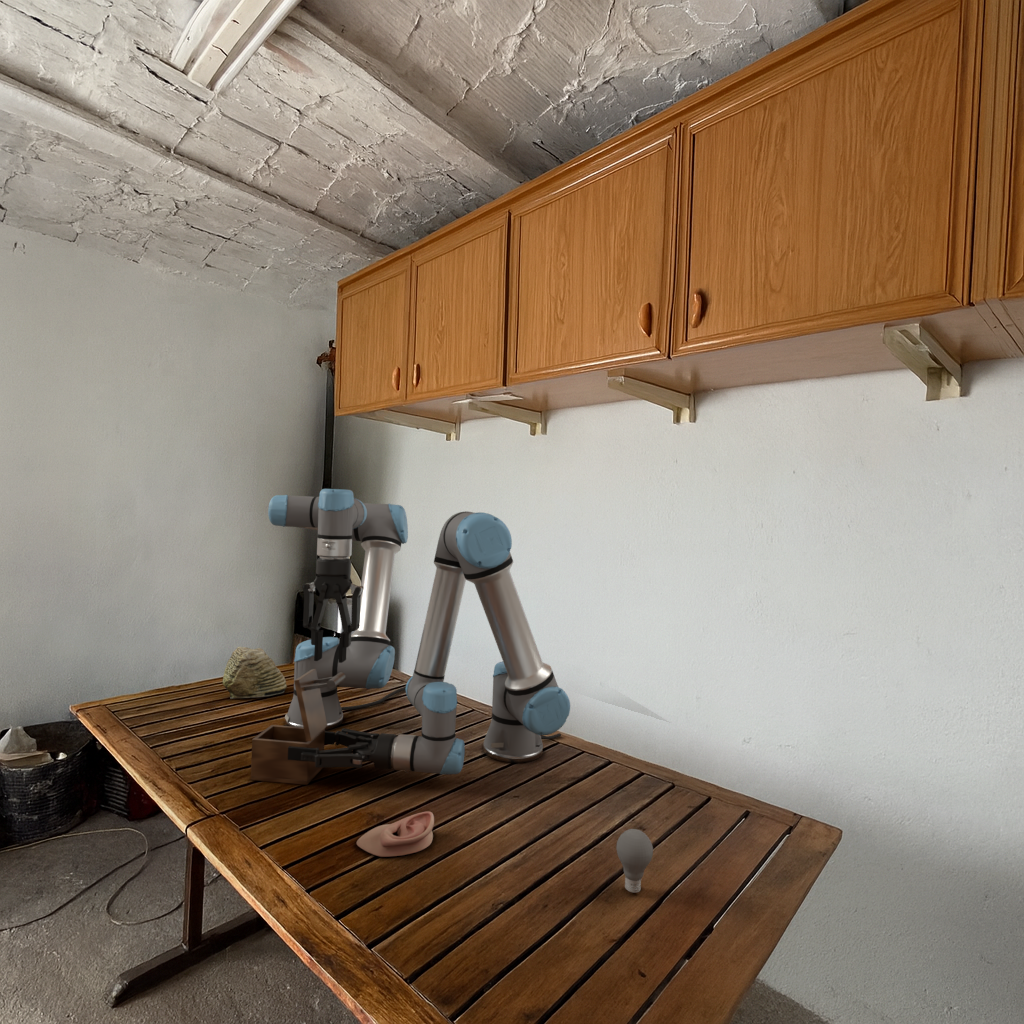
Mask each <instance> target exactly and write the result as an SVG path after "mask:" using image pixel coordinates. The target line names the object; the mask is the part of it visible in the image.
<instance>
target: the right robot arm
mask: <svg viewBox="0 0 1024 1024" xmlns="http://www.w3.org/2000/svg"><path fill="white" fill-rule="evenodd" d="M512 545H513V540H512V534H511V532H510V530H509V528H508V526H507V525H506V523H505V521H503V520H502V519H500V518H499V517H497V516H495V515H493V514H491V513H489V512H488V513H487V512H473V511H468V510H467V511H459V512H456V513H454V514H452V515H451V516H450V517H448V519H447V520H446V521H445V522H444V524H443V525H442V527H441V530H440V532H439V536H438V541H437V545H436V549H435V554H434V559H433V564H434V566H435V568H436V569H435V574H434V578H433V583H432V587H431V592H430V597H429V602H428V605H427V610H426V615H425V619H424V624H423V627H422V628H423V629H422V634H421V638H420V642H419V646H418V652H417V656H416V660H415V664H414V670H413V672H412V673H413V674H412V675H411V677H410V678H409V679H407V682H406V684H405V687H406V690H405V695H406V697H407V700H408V701H409V703H410V704H411V706H413V707H414V708H415V710H416V711H417V712H418V714H419V715H420V717H421V735H414V734H401V733H399V734H398V735H396V734H395V733H386V732H381V733H376V732H375V733H374V732H365V731H361V730H355V729H351V728H341V730H337V731H329V730H325V740H324V745H335V747H337V746H340V745H341V746H343V747H341V748H340V747H339V748H331V749H330V748H329V749H324V750H321V751H319V747H318V748H305V747H293V746H289V747H288V760H297V761H309V762H315V767H316V768H322V769H325V768H355V769H360V768H363V763H367V762H372V763H373V765H374V768H375V769H376V770H386V771H387V770H388V771H391V770H392V769H394V771H402V772H405V773H409V772H413V773H415V772H416V773H427V774H434V775H435V774H437V775H445V776H446V775H447V776H448V775H450V776H451V775H458V774H460V773H461V772H462V770H463V767H464V764H465V763H464V761H465V754H466V748H465V741H464V740H463V739H461V738H458V737H457V735H456V725H457V707H458V698H457V697H458V691H457V687H456V685H454V684H452V683H449V682H447V681H445V677H446V670H447V667H448V663H449V662H448V661H449V657H450V654H451V653H450V652H451V649H452V645H453V641H454V640H453V639H454V636H455V631H456V625H457V622H458V617H459V613H460V608H461V603H462V598H463V594H464V590H465V585H466V581H468V582H470V583H472V584H474V587H475V590H476V592H477V595H478V598H479V600H480V603H481V606H482V609H483V611H484V614H485V615H486V617H485V618H486V619H487V622H488V624H489V627H490V630H491V632H492V635H493V638H494V641H495V643H496V647H497V649H498V651H499V654H500V657H501V660H502V661H499V662H497V663H496V664H495V665H494V668H493V674H492V679H493V680H492V700H491V701H492V702H491V705H492V706H491V721H490V724H489V726H488V729H487V731H486V734H485V737H484V740H483V749H482V750H483V753H484V754H485V755H486V756H488V757H489V758H491V759H493V760H496V761H500V762H504V763H505V762H506V763H515V764H516V763H527V762H533V761H535V760H537V759H539V758H540V757H541V756H542V755H543V752H544V751H543V750H544V744H543V740H545V741H549V740H550V741H551V740H555V739H558V738H560V737H562V734H561V733H560V732H558V733H556V732H557V731H559V730H560V729H562V728H563V726H564V725H565V723H566V722H567V719H568V717H569V716H570V712H571V701H570V698H569V696H568V694H567V693H566V691H565V690H564V689H563V688H562V687H559V685H558V682H557V679H556V677H555V674H554V671H553V668H552V666H551V665H550V664H548V663H546V662H543V660H542V656H541V654H540V651H539V648H538V646H537V643H536V641H535V637H534V635H533V632H532V629H531V626H530V623H529V621H528V618H527V615H526V612H525V610H524V607H523V604H522V601H521V599H520V596H519V593H518V591H517V587H516V584H515V581H514V579H513V577H512V572H511V568H512V566H513V564H514V560H513V557H512V554H511V549H512ZM554 733H556V734H554ZM552 734H553V735H552Z"/></svg>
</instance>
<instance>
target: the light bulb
mask: <svg viewBox="0 0 1024 1024" xmlns="http://www.w3.org/2000/svg"><path fill="white" fill-rule="evenodd" d="M615 849H616V854H617V857H618V859H619V861H620V863H621V865H622V867H623V873H624V874H623V875H624V876H625V878H624V888H625V890H627V891H628V892H630V893H634V894H635V893H639V892H640V891H641V889H642V887H641V886H642V879H643V877H644V875H645V871H646V868H647V867H648V866H649V864H650V863H651V861H652V859H653V855H654V847H653V843H652V841H651V838H649V836H648V835H647V834H646V833H645V832H643V831H642V830H641V829H636V828H629V829H627V830H625V831H623V832H622V833H621V834H620V835H619V837H618V839H617V841H616V847H615Z"/></svg>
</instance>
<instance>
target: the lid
mask: <svg viewBox="0 0 1024 1024" xmlns="http://www.w3.org/2000/svg"><path fill="white" fill-rule="evenodd" d="M344 679H345V674H344V673H342V672H340V673H338V674H337V675H336V676H334V677H329V678H324V679H318V677H317V672H316V669H311V670H310V671H308V672H307V673H305V674H304V675H302V676H301V677H299V678H297V679H296V680H294V679H293V683H294V682H295V687H296V692H297V697H298V702H299V707H300V712H301V717H302V722H303V727H304V732H305V737H306V741H312V740H313V739H314V738H315V737H316V736H317V735H318V734H319V733H320V732H321V731H322V730H323V729H325V728H326V727H327V721H326V716H325V712H324V707H323V702H322V697H321V692H320V688H323V687H328V688H329V689H333V688H334V687H336V686H337V685H338V684H340V683H341V682H342V681H343V680H344ZM327 681H328V682H327ZM322 682H327V683H324V684H319V683H322Z"/></svg>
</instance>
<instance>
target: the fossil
mask: <svg viewBox="0 0 1024 1024" xmlns="http://www.w3.org/2000/svg"><path fill="white" fill-rule="evenodd" d="M222 676H223V677H222V685H223V687H224V688H225V690H226V691H228V693H229V698H230V699H250V698H264V697H271V696H275V695H281V694H284V693H285V691H286V689H287V687H288V686H287V680H286V678H285V676H284V674H283V673H282V672H281V669H279V668H278V667H277V665H276V663H275V662H274V660H273V659H272V658H271V657H270V656H269V655H268V654H267V653H266V652H265V650H264V649H263V648H260V647H258V648H251V647H247V646H246V647H245V646H238V647H237V648H236V649H235V650H233V651H232V653H231V656H230V657H229V659H228V660H227V663H226V666H225V668H224V671H223V675H222Z"/></svg>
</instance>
